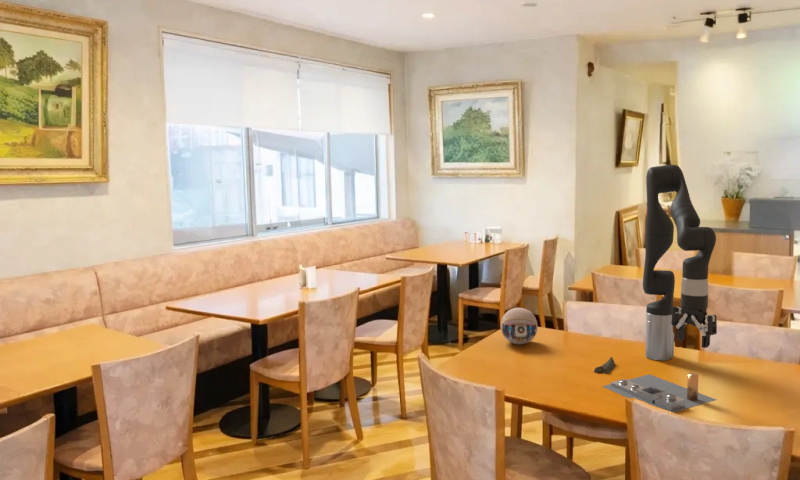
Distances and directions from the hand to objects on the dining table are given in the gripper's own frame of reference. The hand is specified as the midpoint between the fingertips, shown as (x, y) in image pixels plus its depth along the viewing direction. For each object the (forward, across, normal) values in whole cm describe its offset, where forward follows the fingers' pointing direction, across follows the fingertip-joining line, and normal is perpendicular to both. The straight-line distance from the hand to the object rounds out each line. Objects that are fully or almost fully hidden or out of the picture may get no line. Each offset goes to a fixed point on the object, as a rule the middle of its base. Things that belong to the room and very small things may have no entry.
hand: (692, 343), depth 189 cm
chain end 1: (+18, +12, +10) cm, 24 cm away
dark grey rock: (+19, +35, +2) cm, 39 cm away
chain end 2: (+18, +3, +10) cm, 21 cm away
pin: (+18, 0, 0) cm, 18 cm away
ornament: (+18, +75, +10) cm, 78 cm away
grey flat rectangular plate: (+18, +9, +5) cm, 21 cm away
